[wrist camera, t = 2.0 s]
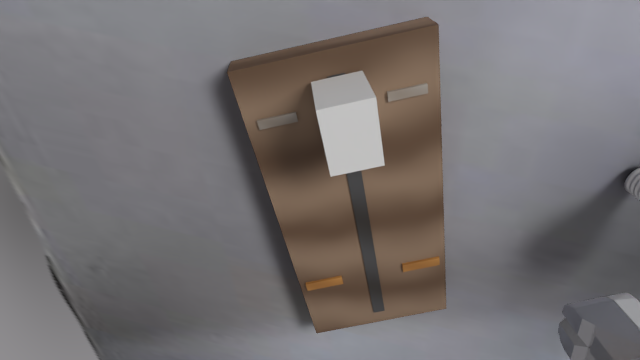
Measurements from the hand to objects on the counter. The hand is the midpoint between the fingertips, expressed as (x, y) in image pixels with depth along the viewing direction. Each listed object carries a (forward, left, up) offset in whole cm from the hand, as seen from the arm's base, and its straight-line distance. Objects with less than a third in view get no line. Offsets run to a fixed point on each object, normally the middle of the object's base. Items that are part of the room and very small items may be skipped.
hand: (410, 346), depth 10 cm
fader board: (0, +9, -18) cm, 20 cm away
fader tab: (0, 0, -16) cm, 16 cm away
